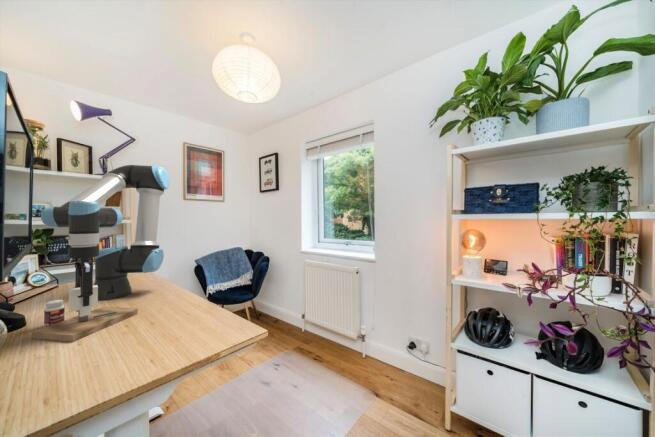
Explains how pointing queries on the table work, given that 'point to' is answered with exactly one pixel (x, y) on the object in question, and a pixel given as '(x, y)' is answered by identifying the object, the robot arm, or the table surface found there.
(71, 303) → the white boxy piece
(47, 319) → the pill bottle
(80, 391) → the table surface
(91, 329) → the board
